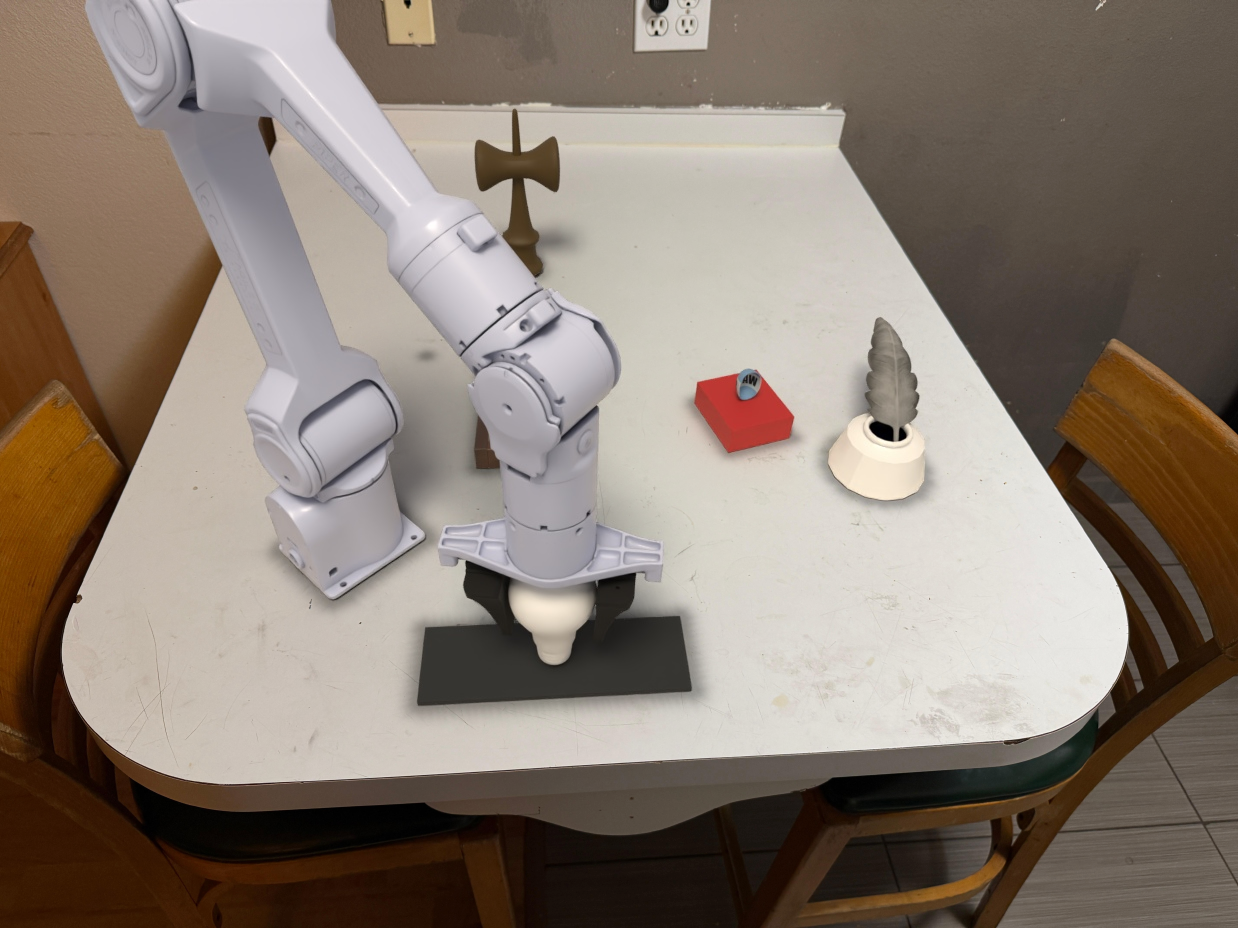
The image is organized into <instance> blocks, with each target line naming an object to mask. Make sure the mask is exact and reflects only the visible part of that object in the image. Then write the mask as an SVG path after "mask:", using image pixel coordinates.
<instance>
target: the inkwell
mask: <svg viewBox="0 0 1238 928" xmlns="http://www.w3.org/2000/svg"><path fill="white" fill-rule="evenodd" d="M872 331H873V333H872V335H871V339H870V346H871V348H870V349H869V350H868V352H867V364H868V366H869V368H870V370H871V371H868V372H867V373H866V376H865V384H866V386H867V388H868V389H869V390H867V391H865V392H864V398H865V401H866V402H867V404H868V405H869V407H870V408H867V411H868V412H867V413H866V412H865V413H863V414H860V415H858V416H856V417H853V418H852V420H851V421H850V422H849V423H848V425H847V426H846V427H845V428H844V430H843V431H842V432H841V434H840V435H839V437H838V438H837V439H836V440H835V442H834V443H833V445H832V446H831V448H830V449H829V450H828V459H827V464H828V466H829V468H830V470H831V473H832V474H833V476H834V478H835V479H836V480H837V481H838V482H840V483H841V484H842V485H843V486H844V487H845V488H847V490H848V491H852V492H853V493H856V494H857V495H858V494H859V495H860V496H862V497H864V498H869V499H874V500H878V501H879V500H880V501H894V500H903V499H905V498H908V497H909V496H911V495H913V494H916V493H917V492H918V491H919V490H920V488H921V486H922V485H923V483H924V482H925V468H926V467H925V465H926V446H925V438H924V436H923V435H922V433H921V431H920V429H918V427H916V426H914V424H912V422H913V421H914V420H915V419H916V418H917V416H918V413H919V410H918V409H916V408H917V407H918V405H919V402H920V394H919V392H918V391H916V390H917V388H918V383H919V381H918V377H917V375H916V373H915V372H912V361H911V357H910V355H909V353H908V351H907V350H906V348H905V347H904V346H903V341H902V339H901V337H900V336H899V334H898V333H897V331H896V330H895V329H894V327H893V325H891V323H890V322H889V321H887V320H886V319H884V318H883V317H882V316H878V317H877V318H875V321H874V325H873V329H872Z"/></svg>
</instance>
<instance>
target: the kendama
mask: <svg viewBox="0 0 1238 928" xmlns="http://www.w3.org/2000/svg"><path fill="white" fill-rule="evenodd" d="M511 149H512V151H506V150H503V149H500V148H498V147H496V146H494V145H493V144H490V143H489V142H487V141H485V140H483V139H477V140H476V141H475V142H474V155H473V156H474V171H475V179H476V184H477V188H478V190H479V191H480V192H486V191H488V190H490V189H492V188H494V187H495V186H497V185H498V184H500V183H502V182H505V181H507V180H512V181H511V183H512V184H511V203H510V212H509V213H510V214H509V223H508V227H507V228H506V230H505V231H504V232H503V233H502V234H501V236H502V237H503V238H504V240H505V241H506V242H507V243H508V245H509V246H510V247H511V248H512V250H513V251H514V252H515V253H516V255H517V256H518V257H519V258H520V260H521V261H522V262H523V263H524V265H525V266H526V267H527V268H528V270H529V271H530V272H531V273H532V275H533V276H534V277H535V276H537V275H539V274H540V273H541V272H542V271H543V267H544V264H543V261H542V258H541V257H539V255H538V253H537V243H538V242H539V241H540V238H541V235H540V233H539V231H538V230H537V229H535V228H534V227H533V223H532V220H531V215H530V211H529V204H528V200H527V199H528V198H527V193H526V192H527V191H526V184H525V179H526V180H527V179H528V180H531V181H534V182H536V183H538V184H540V185H541V186H542V187H544V188H546V189H547V190H549V191H551V192H553V193H558V191H559V189H560V182H561V159H560V158H561V157H560V149H559V143H558V140H557V138H556V136H553V135H552V136H550V137H548V138H547V139H545V140H544V141H542V142H541V143H540V144H538V145H537V146H536V147H534V148H532V149H530V150H527V151H522V146H521V132H520V120H519V113H518V109H517V108H513V109H512V111H511Z"/></svg>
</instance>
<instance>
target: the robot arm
mask: <svg viewBox="0 0 1238 928" xmlns="http://www.w3.org/2000/svg"><path fill="white" fill-rule="evenodd" d="M84 12H85V13H86V17H87V20H88V23H89V26H90V28H91V30H92V32H93V34H94V37H95V39H96V41H97V43H98V45H99V47H100V50H101V52H102V54H103V56H104V59H105V60H106V63H107V64H108V67H109V69H110V71H111V74H112V75H113V78H114V81H115V82H116V84H117V86H118V88H119V91H120V93H121V95H122V97H123V99H124V101H125V103H126V104H127V106H128V107H129V108H130V111H131V113H132V115H133V118H134V120H135V122H136V123H137V125H138V126H139V127H140V128H142V129H147V130H148V129H149V130H156V131H157V130H158V131H162V133H163V136H164V138H165V141H166V142H167V144H168V147H169V149H170V151H171V154H172V157H173V158H174V160H175V163H176V165H177V167H178V169H179V171H180V174H181V176H182V179H183V180H184V183H185V185H186V187H187V189H188V191H189V194H190V196H191V198H192V201H193V203H194V206H195V207H196V209H197V211H198V214H199V216H200V218H201V221H202V223H203V225H204V227H205V230H206V232H207V234H208V236H209V239H210V241H211V243H212V245H213V247H214V249H215V252H216V255H217V257H218V258H219V261H220V263H221V266H222V267H223V270H224V272H225V275H226V277H227V279H228V281H229V283H230V285H231V288H232V290H233V292H234V295H235V297H236V299H237V301H238V303H239V305H240V308H241V310H242V312H243V315H244V317H245V319H246V322H247V324H248V325H249V328H250V330H251V333H252V335H253V337H254V339H255V341H256V344H257V346H258V348H259V351H260V353H261V355H262V357H263V360H264V361H265V366H264V368H263V371H262V372H261V374H260V376H259V378H258V380H257V381H256V384H255V386H254V387H253V389H252V391H251V393H250V395H249V396H248V398H247V400H246V403H245V405H244V408H243V410H244V412H245V413H244V414H245V415H246V420H247V422H248V424H249V427H250V430H251V433H252V439H253V449H254V451H255V455H256V457H257V458H258V460H259V462H260V464H261V465H262V467H263V468H264V470H265V471H266V472H267V474H268V475H269V476H270V477H271V478H272V479H273V480H274V482H275V483H276V484H278V486H277V487H276V488H275V489H274V490H272V491H271V492H270V493H268V494H267V495H266V496H265V499H264V503H265V507H266V510H267V513H268V515H269V518H270V521H271V524H272V525H273V528H274V530H275V533H276V536H277V539H278V541H279V545H278V549H279V551H280V553H282V554H283V555H284V556H285V557H286V558H287V559H288V560H289V561H290V562H291V563H292V564H293V565H294V566H295V567H296V568H297V569H298V570H299V571H300V572H301V573H302V574H303V575H304V576H305V577H306V578H307V579H308V580H309V581H310V582H311V583H313V585H315V587H316V588H317V589H319V590H320V591H321V593H323V594H324V596H326V598H328V599H329V600H335V599H337V598H339V597H340V596H341V597H342V595H343V594H345V593H347V592H348V591H350V590H351V589H353V588H355V586H357V585H358V584H360V583H362V582H363V581H364V580H366V579H368V578H369V577H370V576H372V575H374V574H375V573H377V572H378V571H379V570H381V569H383V568H384V567H385V566H387V565H388V564H389V563H391V562H392V561H394V560H396V559H397V558H398V557H400V556H401V555H403V554H404V553H406V552H408V551H409V550H410V549H412V548H414V547H415V546H417V545H418V544H419V543H421V542H422V541H424V540H425V538H426V534H425V531H424V530H422V529H421V528H420V527H419V526H418V525H417V524H415V523H414V521H412V520H411V519H409V518H408V517H407V516H406V515H405V514H404V513H403V512H401V511H400V508H399V503H398V498H397V494H396V489H395V485H394V480H393V479H394V478H393V476H392V471H391V466H390V461H389V456H390V454H391V453H392V452H393V451H394V450H395V446H394V442H393V441H394V440H393V438H394V437H395V436H397V435H399V434H400V433H401V431H402V430H403V428H404V424H405V423H404V414H403V413H404V412H403V407H402V404H401V402H400V399H399V398H398V396H397V394H396V392H395V391H394V389H393V388H392V386H391V385H390V384H389V383H388V381H387V380H386V378H385V377H384V376H385V375H384V374H383V372H382V371H381V368H380V366H379V363H378V360H377V359H376V358H374V357H373V356H372V355H370V354H368V353H367V352H364V351H363V350H360V349H358V348H355V347H352V346H348V345H342V344H341V343H340V341H339V338H338V334H337V332H336V329H335V327H334V324H333V321H332V319H331V316H330V314H329V311H328V308H327V305H326V302H325V301H324V298H323V296H322V295H323V294H322V293H321V290H320V286H319V285H318V282H317V279H316V276H315V274H314V272H313V267H312V265H311V263H310V261H309V257H308V255H307V253H306V250H305V247H304V245H303V242H302V240H301V237H300V234H299V232H298V229H297V226H296V223H295V221H294V218H293V216H292V213H291V210H290V208H289V205H288V203H287V200H286V197H285V194H284V191H283V189H282V186H281V183H280V180H279V178H278V175H277V173H276V171H275V168H274V165H273V163H272V159H271V157H270V154H269V151H268V149H267V147H266V144H265V141H264V138H263V135H262V133H261V130H260V127H259V121H260V118H261V117H264V118H272V119H275V120H276V121H277V122H278V123H279V124H280V125H281V126H282V127H283V128H284V129H285V131H287V132H288V133H289V134H290V136H291V137H293V139H294V140H296V142H297V143H298V144H299V145H300V146H301V147H302V148H303V149H304V151H306V152H307V153H308V154H309V155H310V156H311V157H312V158H313V159H314V160H315V161H316V163H317V164H318V165H319V166H320V167H321V168H322V169H323V170H324V171H325V172H326V173H327V174H328V175H329V176H330V178H332V179H333V180H334V181H335V183H336V184H337V185H338V186H339V187H340V188H341V189H343V191H344V192H345V193H346V194H347V195H348V196H349V197H350V198H351V199H352V200H353V201H354V202H355V204H357V206H359V208H360V209H362V211H363V212H364V213H365V214H366V215H367V216H368V217H369V218H370V219H371V220H372V221H373V222H374V223H375V224H376V225H377V226H378V227H379V229H380V230H382V231H383V233H384V234H385V236H386V247H387V248H386V250H387V252H386V263H387V270H388V273H389V274H390V275H391V277H393V278H394V280H395V281H396V282H397V283H398V285H399V286H400V288H402V290H403V291H404V292H405V293H406V294H407V295H408V297H409V298H410V299H411V301H412V302H413V303H414V304H415V305H416V307H417V308H418V309H419V310H420V311H421V313H423V315H424V316H425V317H426V319H427V320H428V321H429V322H430V324H431V325H432V326H433V327H434V328H435V330H436V331H437V332H438V333H439V334H440V336H441V337H442V338H443V339H444V340H445V342H446V343H447V344H448V345H449V346H450V348H451V349H452V350H453V351H454V353H455V354H456V355H457V356H458V357H459V358H460V359H461V361H462V362H463V363H464V365H465V366H466V367H467V368H468V369H469V371H470V372H471V373H472V375H474V377H475V378H474V379H473V381H471V383H466V387H467V393H468V397H469V399H470V401H471V404H472V406H473V408H474V410H475V412H476V414H477V416H478V415H479V417H480V418H481V420H482V421H483V423H484V424H485V426H486V428H487V430H488V433H489V437H490V446H491V449H492V450H493V451H494V452H495V456H496V458H497V459H499V460H500V468H499V470H500V481H501V491H502V492H501V493H502V502H503V503H502V504H503V505H502V506H503V515H504V517H502V518H496V519H490V520H485V521H480V522H475V523H468V524H443V527H442V531H441V533H440V536H439V540H438V543H437V547H436V549H437V553H438V558H439V563H440V564H439V565H440V566H441V567H451V568H454V567H456V566H457V565H458V564H459V560H461V561H464V566H465V570H464V572H465V575H464V578H463V583H462V588H463V591H464V595H465V597H466V598H467V599H469V600H472V601H473V602H475V603H477V604H478V605H480V606H481V607H482V608H483V609H484V610H485V611H486V612H487V613H488V614H489V615H490V616H491V617H492V619H493V620H494V622H495V624H497V625H498V627H499V628H500V630H501V632H502V634H503V635H512V630H513V625H514V623H515V619H516V617H515V616H514V614H513V612H512V609H511V607H510V604H509V597H508V589H509V583H510V580H511V578H514V579H516V580H519V581H521V582H524V583H527V584H529V585H532V586H535V587H540V588H561V587H566V586H571V585H576V584H581V583H585V582H590V581H595V580H596V581H597V595H596V605H595V617H594V620H595V626H594V636H593V641H594V642H603V640H604V636H605V634H606V632H607V630H608V628H609V627H610V625H611V624H612V622H613V621H614V620H615V619H618V617H619V616H620V615H621V614H623V613H625V612H626V611H630V609H631V607H632V605H633V603H634V600H635V595H636V581H637V574H644V580H645V582H650V583H662V578H663V577H662V576H663V569H664V553H665V552H664V551H665V550H664V549H665V541H663V540H658V539H657V540H656V539H649V538H645V537H641V536H637V535H635V534H632V533H629V532H627V531H624V530H620V529H618V528H615V527H612V526H609V525H607V524H604V523H602V522H601V523H600V522H598V521H597V510H598V509H597V507H598V478H599V477H598V476H599V475H598V474H599V473H598V472H599V438H600V437H599V436H600V435H599V434H600V406H599V405H598V404H600V403H601V402H602V401H603V400H604V399H605V398H607V397H608V395H609V394H610V393H611V391H612V390H613V389H614V388H615V387H616V386H617V384H618V383H619V380H620V378H621V373H622V361H621V356H620V352H619V348H618V346H617V343H616V342H615V340H614V337H613V336H612V334H610V332H609V330H608V329H607V327H606V325H605V323H604V322H603V320H602V319H601V318H600V316H598V315H597V314H595V313H594V312H593V311H591V310H590V309H588V308H587V307H585V306H582V305H580V304H578V303H575V302H573V301H570V300H568V299H567V298H566V297H564V296H563V294H562V293H561V292H560V291H559V290H556V291H555V289H554V288H552V287H549V288H547V289H544V287H543V286H542V285H541V283H540V282H539V280H538V279H537V278H536V277H535V275H534V276H533V275H532V273H531V272H530V271H529V270H528V268H527V267H526V266H525V265H524V263H523V262H522V261H521V260H520V258H519V257H518V256H517V255H516V253H515V252H514V251H513V250H512V248H511V247H510V246H509V245H508V243H507V242H506V241H505V240H504V238H503V237H502V234H501V233H500V232H499V231H498V229H497V228H496V227H495V226H494V225H493V223H492V222H491V221H490V219H489V218H488V217H487V216H486V214H485V213H484V212H483V210H481V208H480V207H479V205H478V204H477V203H476V202H475V201H474V200H471V199H469V198H463V197H458V196H453V195H448V194H443V193H441V192H439V190H438V189H437V187H436V186H435V185H434V183H433V181H432V180H431V179H430V177H429V176H428V174H427V172H426V171H425V170H424V168H423V167H422V165H421V164H420V163H419V161H418V159H416V157H415V155H414V154H413V153H412V151H411V150H410V148H409V147H408V145H407V144H406V143H405V141H404V140H403V138H402V136H401V135H400V134H399V132H398V131H397V129H396V128H395V126H394V125H393V123H392V122H391V121H390V119H389V118H388V116H387V115H386V113H385V112H384V111H383V109H382V107H381V106H380V105H379V103H378V102H377V99H375V98H374V96H373V94H372V93H371V92H370V90H369V89H368V87H367V85H366V84H365V83H364V82H363V80H362V79H361V77H360V76H359V74H358V73H357V71H356V70H355V68H354V67H353V66H352V64H351V63H350V61H349V59H348V58H347V57H346V55H345V53H344V52H343V50H341V48H340V47H339V45H338V43H337V29H336V20H335V14H334V7H333V4H332V0H85V4H84Z"/></svg>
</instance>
